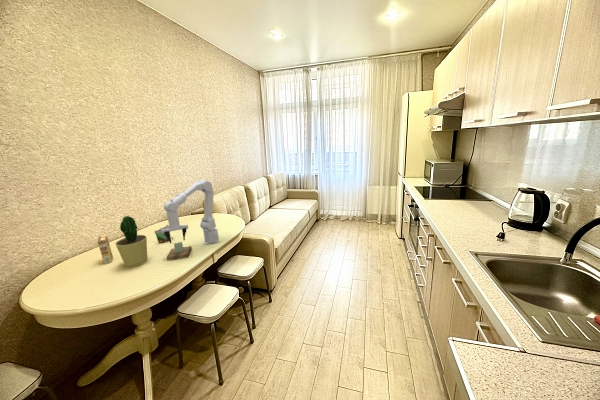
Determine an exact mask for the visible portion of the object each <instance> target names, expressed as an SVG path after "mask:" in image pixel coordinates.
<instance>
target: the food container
mask: <svg viewBox="0 0 600 400" xmlns="http://www.w3.org/2000/svg"><path fill="white" fill-rule="evenodd" d="M166 228H169V224H166V226H164V227H161V228H159V229H158V230H157V229H156V230H154V234H155V237H156V240H157V243H158V244H162V243H166V242H169V240H168V238H167V237H166V236H165V235H164V233H162V229H166ZM169 233H170V234H171V231H170V232H169Z"/></svg>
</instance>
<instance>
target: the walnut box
mask: <svg viewBox="0 0 600 400" xmlns="http://www.w3.org/2000/svg"><path fill="white" fill-rule="evenodd" d="M191 252H192V246H191V245H189V246H183V252H179V253H175V248H174V247H173V248H171V249H170V251H169V253H167V255H166V260H167V261H174V260H182V259H188V258H190V255H191Z"/></svg>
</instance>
